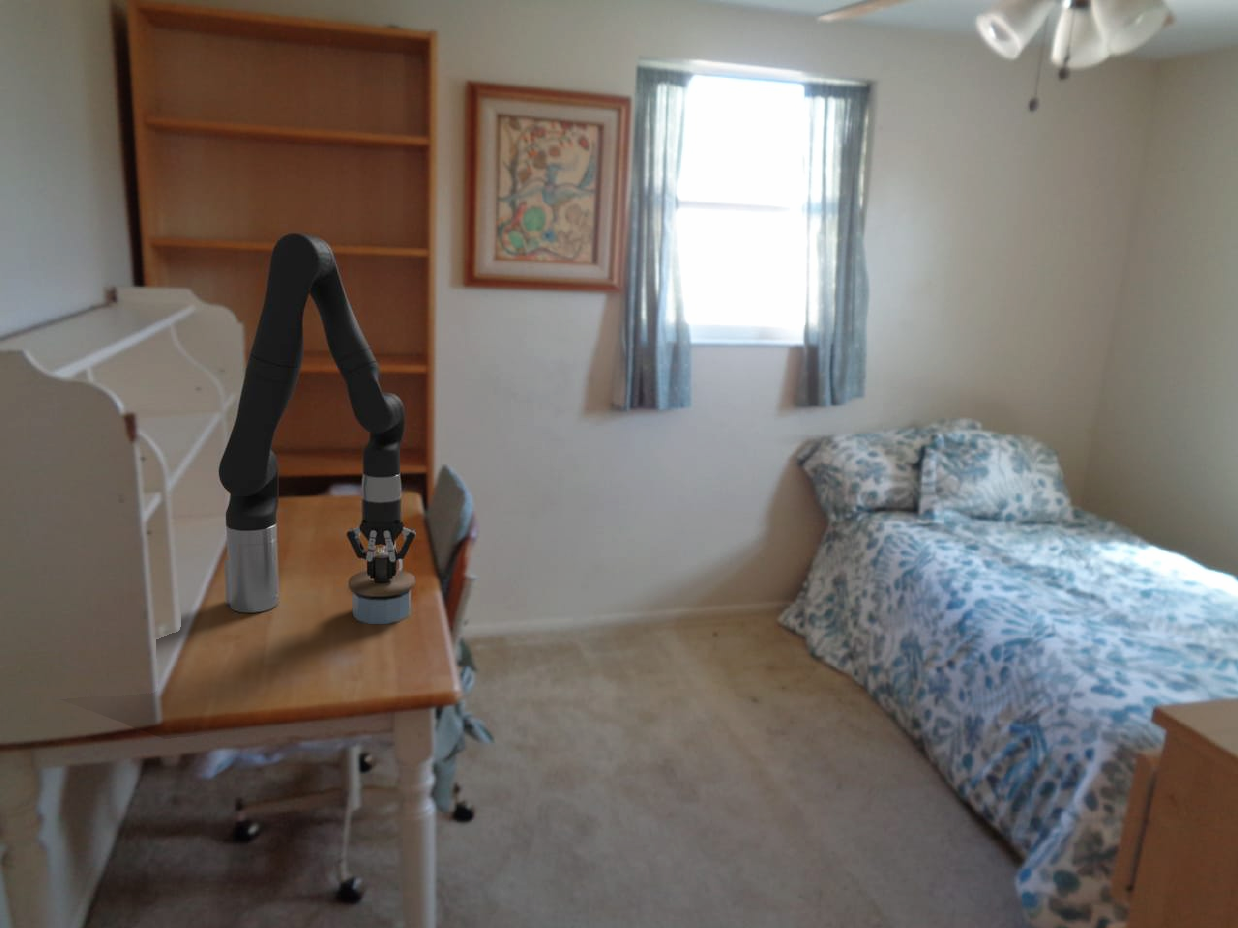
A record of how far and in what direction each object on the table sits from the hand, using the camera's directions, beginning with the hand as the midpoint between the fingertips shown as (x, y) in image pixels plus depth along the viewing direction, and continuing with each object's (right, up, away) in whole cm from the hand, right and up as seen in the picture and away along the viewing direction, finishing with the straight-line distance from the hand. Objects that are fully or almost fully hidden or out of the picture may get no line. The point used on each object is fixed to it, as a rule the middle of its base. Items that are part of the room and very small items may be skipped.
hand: (381, 576), depth 173 cm
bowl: (0, -8, +2) cm, 8 cm away
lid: (0, -2, 0) cm, 2 cm away
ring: (-4, -3, +18) cm, 19 cm away
